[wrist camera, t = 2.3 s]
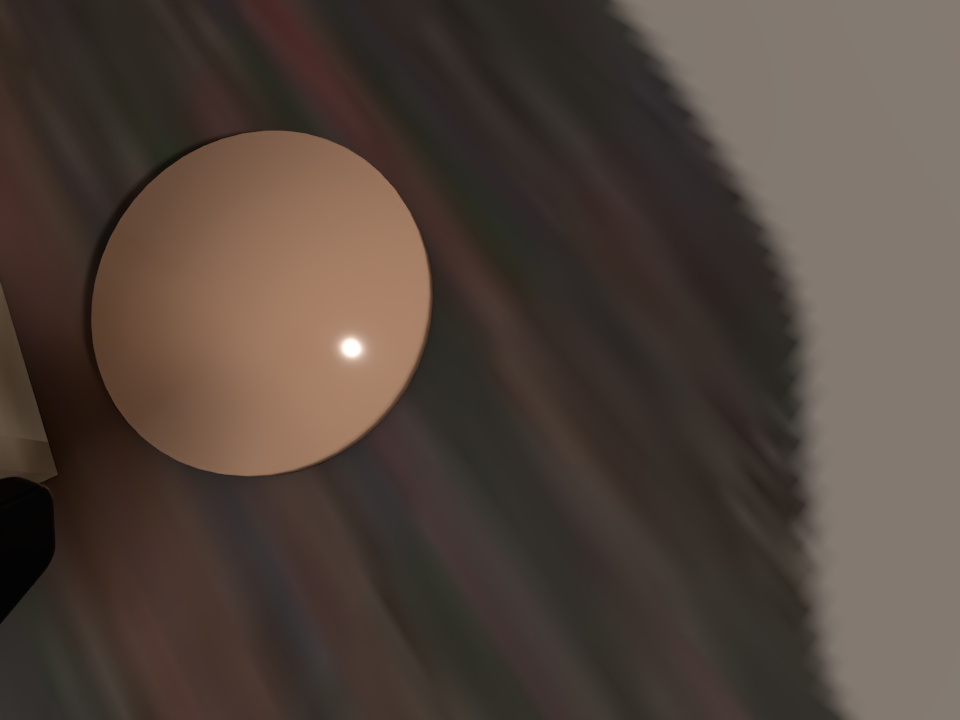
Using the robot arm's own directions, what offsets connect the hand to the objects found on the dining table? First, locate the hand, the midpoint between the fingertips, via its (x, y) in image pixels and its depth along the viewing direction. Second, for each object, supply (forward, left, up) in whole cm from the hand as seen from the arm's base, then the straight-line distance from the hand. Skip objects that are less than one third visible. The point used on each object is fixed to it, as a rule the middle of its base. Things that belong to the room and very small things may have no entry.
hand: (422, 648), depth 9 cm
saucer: (-10, +2, -14) cm, 17 cm away
